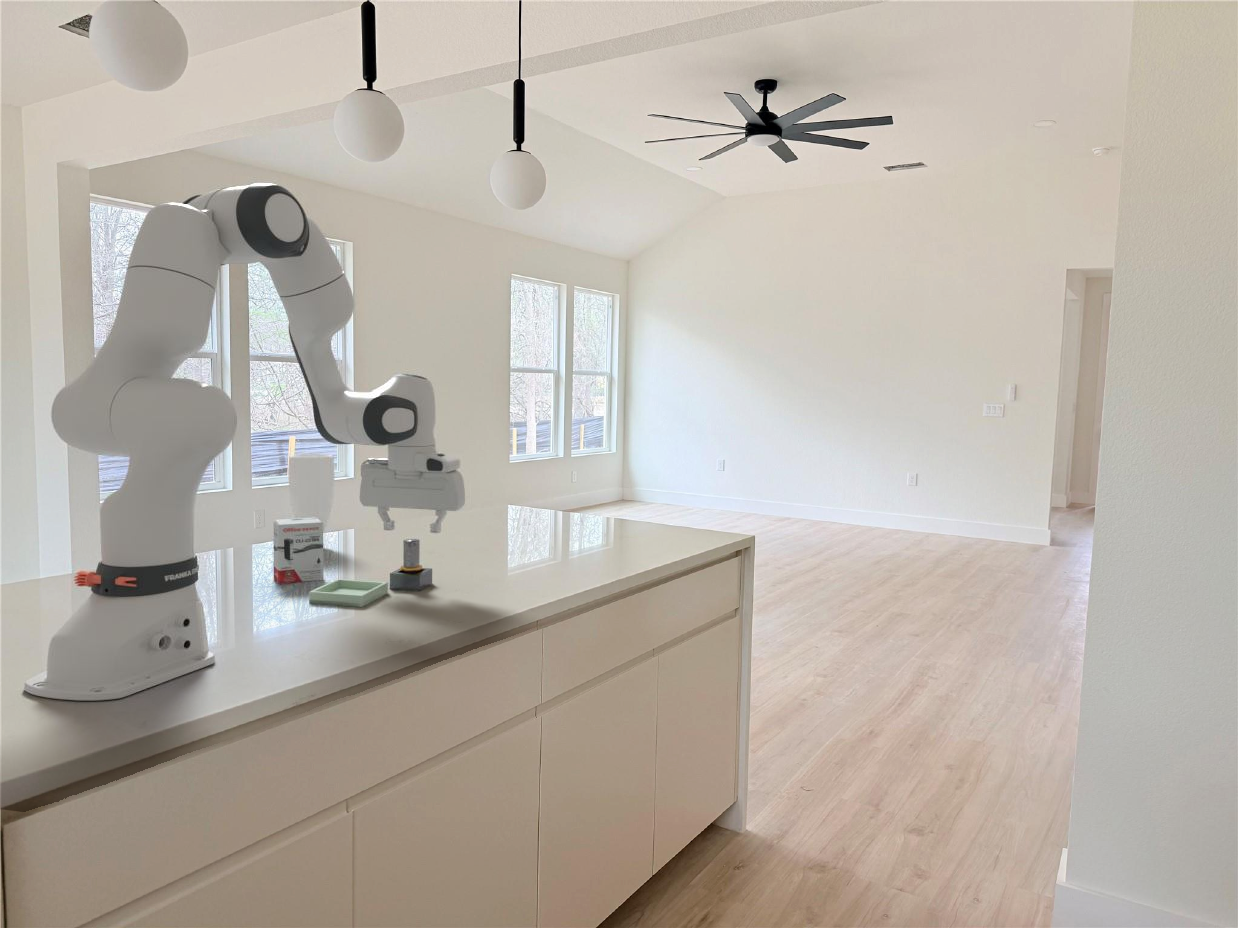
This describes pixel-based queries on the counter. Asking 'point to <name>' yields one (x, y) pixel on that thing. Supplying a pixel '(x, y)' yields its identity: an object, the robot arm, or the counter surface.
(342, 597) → the tray
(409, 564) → the pin
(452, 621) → the counter surface
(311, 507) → the cup
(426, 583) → the socket block
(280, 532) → the ink box
